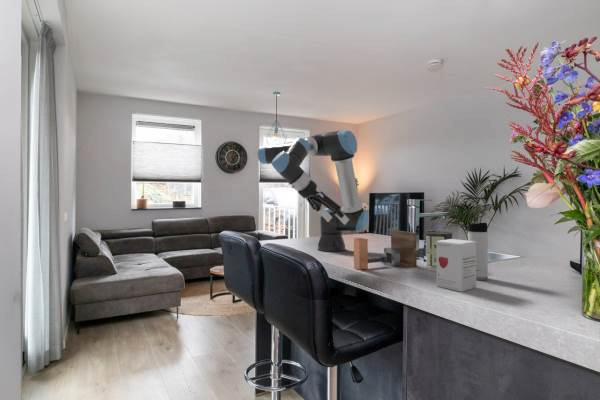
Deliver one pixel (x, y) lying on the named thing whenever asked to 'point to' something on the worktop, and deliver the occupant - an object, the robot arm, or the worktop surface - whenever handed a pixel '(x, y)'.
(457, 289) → the supplement box
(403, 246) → the backboard
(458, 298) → the worktop surface
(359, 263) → the upright wooden block
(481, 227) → the travel mug
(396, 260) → the grey thick square slab
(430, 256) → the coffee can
